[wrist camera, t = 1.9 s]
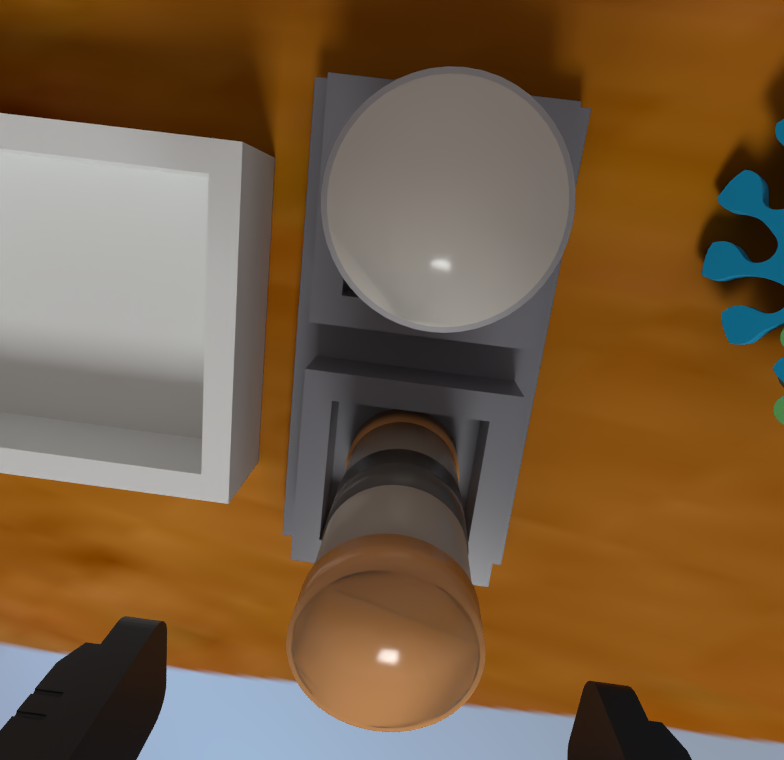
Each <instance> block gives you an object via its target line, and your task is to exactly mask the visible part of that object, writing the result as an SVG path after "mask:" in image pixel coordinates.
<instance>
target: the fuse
mask: <svg viewBox="0 0 784 760" xmlns="http://www.w3.org/2000/svg"><path fill="white" fill-rule="evenodd" d="M574 211H575V180H574V172H573V167H572V163H571V159H570V155H569V152H568V150H567V147H566V145H565V142H564V140H563V137H562V135H561V133H560V132H559V130H558V128H557V126H556V125H555V123H554V121H553V120H552V119H551V117H550V116H549V115H548V113H547V112H546V111H545V110H544V108H543V107H542V106H541V105H540V104H539V103H538V102H537V101H536V100H535V99H534V98H533V97H532V96H531V95H530V94H528V93H527V92H525V91H524V90H523V89H521V88H520V87H518V86H517V85H516V84H514V83H512V82H510V81H508V80H506V79H504V78H502V77H501V76H498V75H495V74H492V73H489V72H486V71H484V70H479V69H473V68H468V67H452V66H447V67H437V68H429V69H425V70H421V71H417V72H413V73H411V74H408V75H406V76H404V77H401V78H399V79H396V80H395V81H393V82H391V83H390V84H388V85H386V86H384V87H383V88H381V89H380V90H378V91H377V92H376V93H375V94H373V95H372V96H371V97H369V98H368V99H367V100H366V101H365V102H364V103H363V104H362V105H361V106H360V107H359V108H358V109H357V110H356V111H355V112H354V114H353V115H352V116H351V118H350V119H349V120H348V122H347V123H346V124H345V126H344V127H343V129H342V131H341V132H340V134H339V136H338V138H337V139H336V141H335V143H334V146H333V148H332V151H331V153H330V155H329V158H328V161H327V165H326V169H325V172H324V177H323V184H322V191H321V215H322V224H323V230H324V234H325V238H326V243H327V245H328V248H329V251H330V254H331V256H332V259H333V261H334V263H335V265H336V267H337V268H338V270H339V272H340V274H341V275H342V277H343V278H344V280H345V281H346V283H347V284H348V285H349V287H350V288H351V289H352V290H353V291H354V292H355V293H356V295H357V296H358V297H359V298H360V299H361V300H362V301H364V302H365V303H366V304H367V305H368V306H369V307H371V308H372V309H373V310H375V311H376V312H378V313H379V314H381V315H382V316H384V317H386V318H388V319H390V320H392V321H394V322H396V323H398V324H401V325H404V326H407V327H410V328H413V329H417V330H422V331H427V332H439V333H450V332H462V331H467V330H472V329H477V328H480V327H483V326H486V325H489V324H492V323H494V322H496V321H498V320H500V319H502V318H504V317H506V316H508V315H509V314H511V313H512V312H514V311H515V310H517V309H518V308H520V307H521V306H522V305H523V304H525V303H526V302H527V301H528V300H529V299H531V298H532V297H533V296H534V295H535V294H536V293H537V291H538V290H539V289H540V288H541V287H542V286H543V285H544V284H545V282H546V281H547V280H548V278H549V277H550V275H551V274H552V273H553V271H554V270H555V268H556V266H557V264H558V262H559V261H560V259H561V257H562V255H563V252H564V250H565V247H566V245H567V242H568V240H569V236H570V232H571V228H572V225H573V219H574Z"/></svg>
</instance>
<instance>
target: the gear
mask: <svg viewBox="0 0 784 760" xmlns="http://www.w3.org/2000/svg"><path fill="white" fill-rule="evenodd" d="M775 134H776V137H777V139H778V140H779V142H780V143H781V144H782V145H783V146H784V119H783V120H781V121H779V122H778V123H777V125H776V128H775ZM718 201H719V203H720V204H721V206H723V207H724V208H725V209H727V210H729V211H731V212H732V213H735V214H739V215H748V216H752V217H755V218H758V219H760V220H761V221H763V222H764V223H765V224H766V225H767V226H768V228H769V229H770V230H771V231H772V233H773V234H774V235H775V237H776V239H777V241H778V248H777V251H776V252H775V254H774V255H773V256H772V257H771V258H770V259H768V260H767V261H764V262H761V263H753V262H752V261H751V260H750V259H749V257H748V256H747V254H746V253H745V252H744V251H743V250H742V248H740V247H738V246H736V245H734V244H732V243H729V242H726V241H718V242H714V243H712V245H711V246H710V248H709V249H708V252H707V254H706V257H705V260H704V264H703V271H702V275H703V276H705V277H706V278H709V279H712V280H715V281H720V282H726V281H731V280H734V279H738V278H744V277H760V278H766V279H769V280H773V281H775V282H778V283H780V284H782V285H784V209H780V210H773V209H770V206H769V189H768V185H767V183H766V182H765V180H764V179H763V178H761V177H760V176H759V175H758V174H756V173H755V172H753V171H750V170H744V171H742V172H741V173H739V174H738V175H737V176H736V177H735V178H733V179H732V180H731V181H730V183H729V184H728V185H727V186H726V187H725V188H724V190H723V191H722V192H721V194H720V195H719V196H718ZM722 325H723V328H724V332H725V334H726V337H727V339H728V341H729V343H731V344H751V343H754V342H756V341H758V340H759V339H760V338H761V337H763V336H764V335H765V334H767V333H768V332H770V331H772V330H773V329H776V328H778V327H781V326H783V325H784V308H783V309H781V310H780V311H778V312H775V313H770V314H767V313H765V312H762V311H760V310H758V309H755V308H752V307H748V306H741V305H739V306H733V307H730V308H728V309H726V310H725V311H723V312H722ZM780 340H781V343H782V345H783V346H784V329H783V330H782V332H781V336H780ZM773 370H774V372H775V373H776V375H777V376H778V379H779V382H780V383H781V385H782V386H783V387H784V357H782V358H781V359H780V360H778V361H777V363H776V364H775V366H774V368H773ZM774 415H775V417H776V418H777V420H778V421H779V422H781V423H782V424H784V396H783V397H781V398H780V399H778V400H777V401H776V403H775V405H774Z"/></svg>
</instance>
